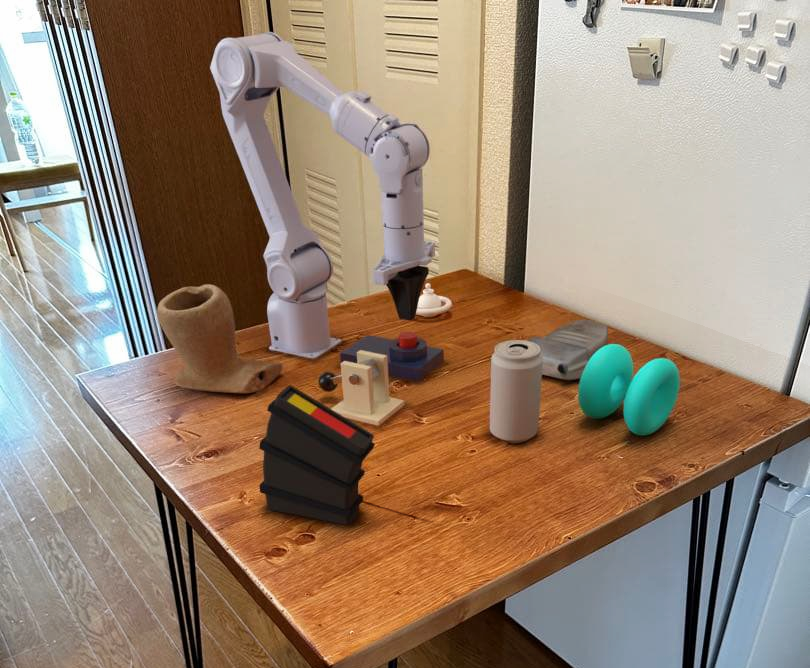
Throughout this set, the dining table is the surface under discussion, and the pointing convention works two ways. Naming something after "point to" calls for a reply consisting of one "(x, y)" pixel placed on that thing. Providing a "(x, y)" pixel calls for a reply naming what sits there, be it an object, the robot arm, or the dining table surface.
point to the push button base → (398, 356)
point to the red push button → (407, 340)
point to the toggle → (331, 381)
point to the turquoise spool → (629, 389)
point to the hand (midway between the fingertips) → (407, 318)
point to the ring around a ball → (432, 303)
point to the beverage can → (515, 390)
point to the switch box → (366, 391)
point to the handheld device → (570, 348)
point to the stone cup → (210, 343)
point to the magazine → (312, 459)
